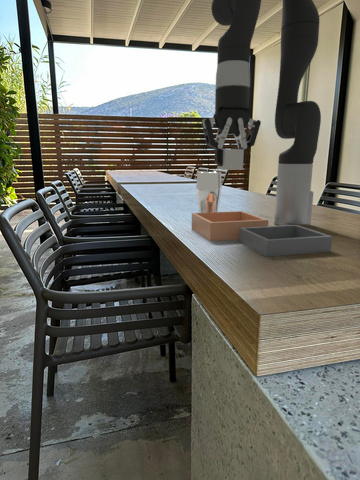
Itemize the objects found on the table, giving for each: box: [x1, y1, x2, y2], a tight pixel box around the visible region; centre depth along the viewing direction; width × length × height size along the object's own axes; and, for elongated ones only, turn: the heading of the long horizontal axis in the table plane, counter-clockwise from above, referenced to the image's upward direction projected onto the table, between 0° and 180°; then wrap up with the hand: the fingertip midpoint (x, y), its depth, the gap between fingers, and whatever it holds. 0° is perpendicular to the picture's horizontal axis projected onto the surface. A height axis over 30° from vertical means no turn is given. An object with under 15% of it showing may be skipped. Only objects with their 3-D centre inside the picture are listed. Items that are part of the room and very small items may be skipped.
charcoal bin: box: [238, 224, 333, 257], centre depth 69 cm, size 14×12×4 cm
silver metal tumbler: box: [195, 171, 223, 213], centre depth 93 cm, size 7×7×15 cm
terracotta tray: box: [191, 210, 269, 242], centre depth 81 cm, size 14×14×5 cm
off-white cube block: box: [216, 148, 244, 171], centre depth 78 cm, size 4×4×4 cm
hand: (229, 165), depth 78 cm, fingers closed on off-white cube block, 4 cm apart
